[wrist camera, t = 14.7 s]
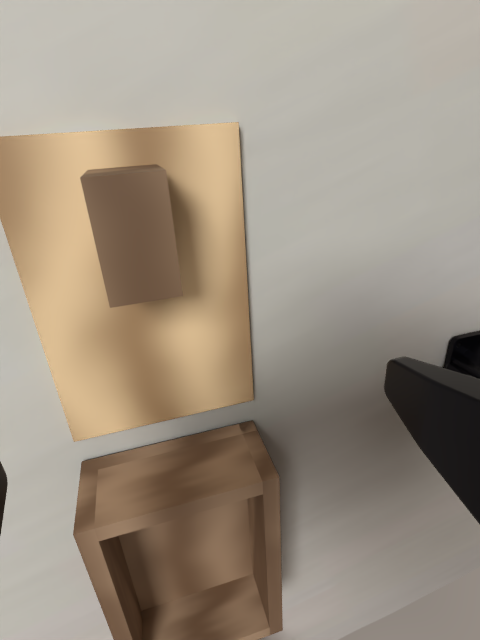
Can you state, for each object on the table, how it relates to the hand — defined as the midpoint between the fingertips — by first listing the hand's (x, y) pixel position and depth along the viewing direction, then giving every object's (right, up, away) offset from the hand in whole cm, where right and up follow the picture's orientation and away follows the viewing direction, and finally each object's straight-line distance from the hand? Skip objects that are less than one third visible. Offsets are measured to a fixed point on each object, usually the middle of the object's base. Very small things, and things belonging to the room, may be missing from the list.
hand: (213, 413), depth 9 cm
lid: (-5, +4, +12) cm, 13 cm away
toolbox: (-3, -14, +20) cm, 25 cm away
